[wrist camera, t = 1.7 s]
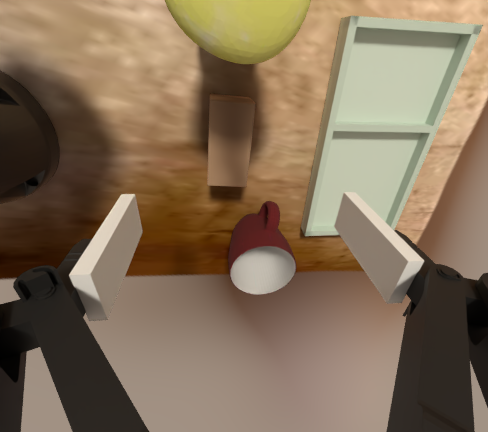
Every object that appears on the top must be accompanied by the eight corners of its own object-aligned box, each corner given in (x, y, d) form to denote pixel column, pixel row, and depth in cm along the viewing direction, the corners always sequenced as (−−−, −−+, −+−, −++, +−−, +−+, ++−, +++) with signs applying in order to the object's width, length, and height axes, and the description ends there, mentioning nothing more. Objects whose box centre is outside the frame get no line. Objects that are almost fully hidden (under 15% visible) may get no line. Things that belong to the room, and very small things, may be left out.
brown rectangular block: (208, 168, 34) (207, 185, 29) (210, 93, 29) (209, 100, 25) (242, 170, 34) (246, 187, 30) (249, 96, 30) (255, 104, 25)
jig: (300, 227, 40) (304, 235, 38) (341, 18, 26) (351, 15, 24) (384, 225, 42) (392, 233, 40) (464, 26, 28) (482, 24, 26)
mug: (231, 182, 35) (238, 223, 26) (288, 188, 36) (311, 229, 28) (222, 243, 40) (225, 294, 32) (272, 246, 42) (287, 296, 33)
